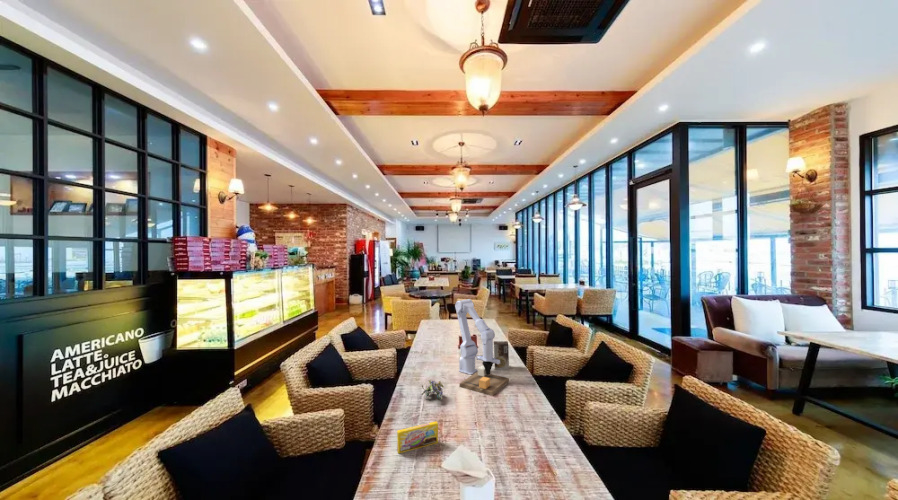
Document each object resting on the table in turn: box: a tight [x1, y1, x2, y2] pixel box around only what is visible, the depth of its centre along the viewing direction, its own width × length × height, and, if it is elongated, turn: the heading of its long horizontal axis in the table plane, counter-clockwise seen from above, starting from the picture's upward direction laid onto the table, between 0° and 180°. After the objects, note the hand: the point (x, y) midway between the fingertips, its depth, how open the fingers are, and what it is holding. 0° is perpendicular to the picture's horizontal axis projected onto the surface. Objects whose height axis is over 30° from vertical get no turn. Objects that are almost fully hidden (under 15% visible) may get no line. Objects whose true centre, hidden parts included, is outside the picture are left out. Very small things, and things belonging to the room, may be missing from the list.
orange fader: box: [479, 377, 490, 389], centre depth 174 cm, size 4×5×4 cm
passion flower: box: [421, 379, 444, 401], centre depth 167 cm, size 11×11×12 cm
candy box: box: [396, 421, 439, 455], centre depth 126 cm, size 16×2×8 cm, turn 114°
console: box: [459, 371, 510, 397], centre depth 182 cm, size 20×23×2 cm
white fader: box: [477, 365, 487, 376], centre depth 191 cm, size 4×5×4 cm
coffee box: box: [493, 340, 510, 370], centre depth 207 cm, size 9×6×16 cm
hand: (488, 374), depth 189 cm, fingers closed
